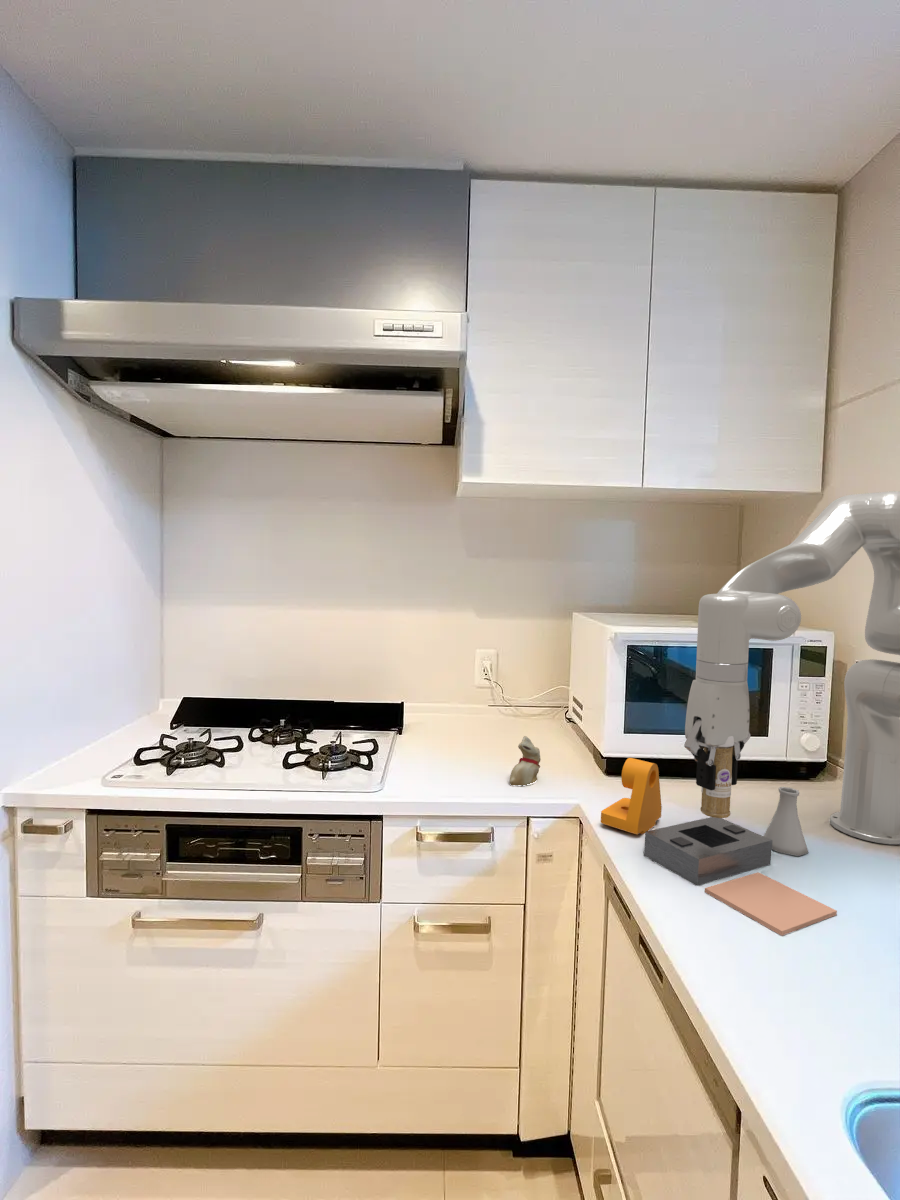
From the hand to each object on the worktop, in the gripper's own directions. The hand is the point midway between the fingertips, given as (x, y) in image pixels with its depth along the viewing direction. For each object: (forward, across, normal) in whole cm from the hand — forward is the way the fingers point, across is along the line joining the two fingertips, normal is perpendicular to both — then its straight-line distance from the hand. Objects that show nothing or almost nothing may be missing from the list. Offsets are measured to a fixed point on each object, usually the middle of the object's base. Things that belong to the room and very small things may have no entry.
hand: (716, 783), depth 103 cm
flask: (+13, -16, +2) cm, 21 cm away
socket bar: (+12, +1, 0) cm, 12 cm away
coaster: (+12, +4, +13) cm, 18 cm away
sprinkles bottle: (+5, 0, 0) cm, 5 cm away
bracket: (+13, +2, -16) cm, 21 cm away
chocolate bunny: (+12, +7, -42) cm, 44 cm away
